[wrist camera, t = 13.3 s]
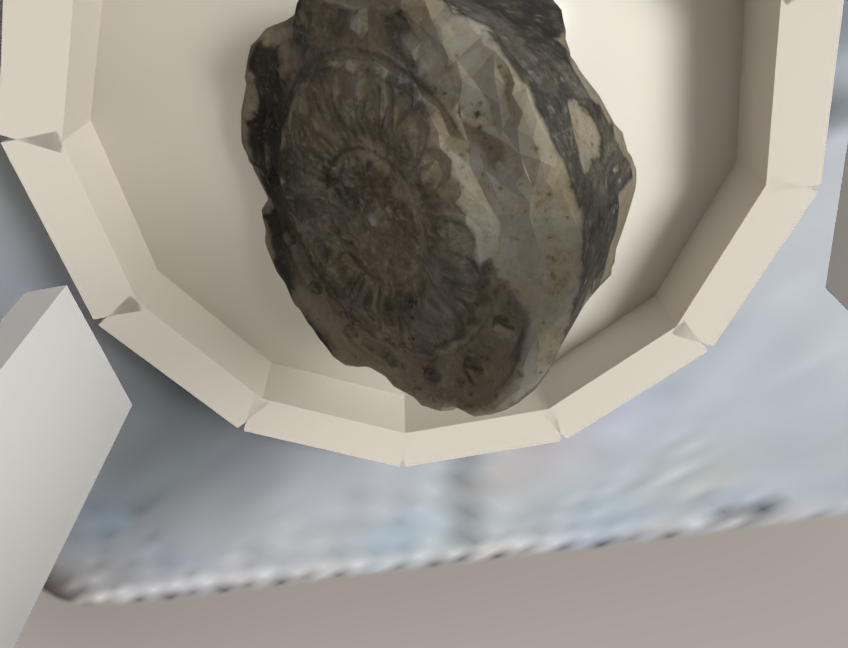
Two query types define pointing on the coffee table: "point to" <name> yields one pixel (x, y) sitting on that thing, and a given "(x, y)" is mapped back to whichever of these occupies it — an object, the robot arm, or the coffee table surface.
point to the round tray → (245, 197)
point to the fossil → (435, 188)
